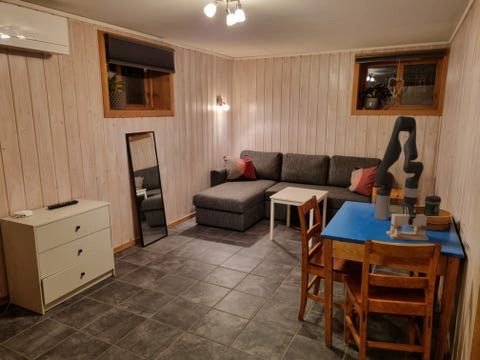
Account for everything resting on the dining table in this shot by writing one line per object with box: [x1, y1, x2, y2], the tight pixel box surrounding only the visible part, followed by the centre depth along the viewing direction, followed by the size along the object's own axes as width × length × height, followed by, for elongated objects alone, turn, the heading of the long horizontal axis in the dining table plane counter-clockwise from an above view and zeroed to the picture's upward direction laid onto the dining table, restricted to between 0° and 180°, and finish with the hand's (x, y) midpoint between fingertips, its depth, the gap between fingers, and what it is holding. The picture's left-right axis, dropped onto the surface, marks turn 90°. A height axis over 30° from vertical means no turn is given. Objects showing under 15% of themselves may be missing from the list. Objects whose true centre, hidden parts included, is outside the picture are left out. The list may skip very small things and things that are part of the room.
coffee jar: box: [423, 195, 442, 217], centre depth 230 cm, size 10×8×19 cm
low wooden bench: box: [386, 222, 430, 241], centre depth 203 cm, size 11×20×8 cm, turn 87°
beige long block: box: [390, 213, 427, 228], centre depth 202 cm, size 5×18×6 cm, turn 84°
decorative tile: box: [389, 204, 403, 215], centre depth 258 cm, size 19×20×4 cm
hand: (408, 223), depth 203 cm, fingers closed on beige long block, 5 cm apart
